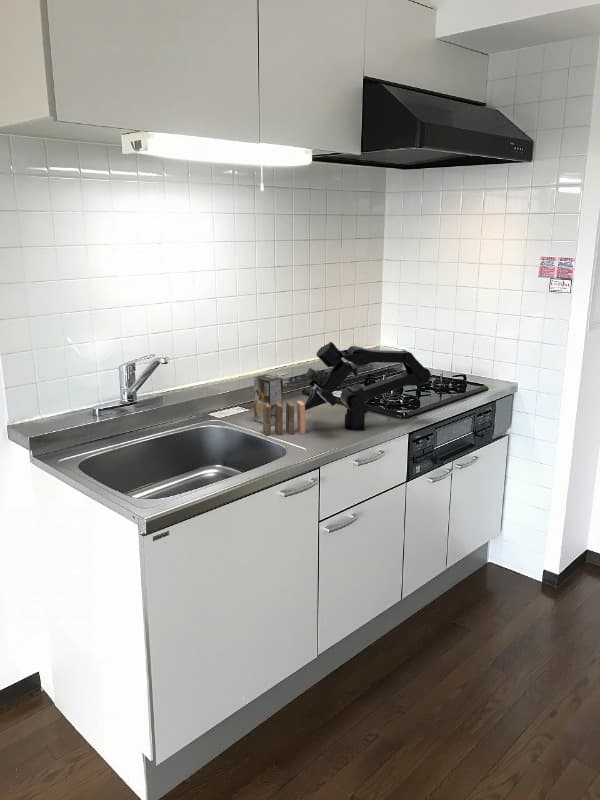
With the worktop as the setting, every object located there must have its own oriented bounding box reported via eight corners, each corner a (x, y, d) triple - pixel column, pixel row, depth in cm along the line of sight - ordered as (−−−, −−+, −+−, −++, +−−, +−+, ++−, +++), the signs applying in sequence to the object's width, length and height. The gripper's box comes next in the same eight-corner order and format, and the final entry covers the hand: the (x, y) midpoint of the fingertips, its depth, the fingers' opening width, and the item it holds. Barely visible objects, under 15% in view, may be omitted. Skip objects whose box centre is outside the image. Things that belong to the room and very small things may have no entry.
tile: (301, 428, 227) (301, 400, 225) (305, 433, 223) (304, 404, 220) (297, 429, 227) (296, 401, 224) (300, 433, 222) (300, 405, 219)
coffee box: (283, 422, 234) (284, 378, 230) (270, 426, 230) (270, 381, 226) (266, 416, 241) (266, 373, 236) (253, 420, 236) (253, 376, 232)
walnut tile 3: (279, 430, 225) (279, 402, 223) (282, 434, 221) (282, 406, 218) (274, 430, 225) (274, 402, 222) (277, 435, 220) (278, 406, 218)
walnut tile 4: (267, 431, 224) (267, 402, 222) (270, 435, 220) (270, 406, 217) (263, 431, 224) (263, 403, 221) (266, 435, 219) (266, 406, 217)
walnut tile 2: (290, 429, 226) (290, 401, 224) (294, 434, 222) (294, 405, 219) (285, 429, 226) (286, 401, 223) (289, 434, 221) (289, 405, 219)
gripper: (313, 354, 228) (281, 386, 229) (328, 365, 211) (294, 400, 211) (334, 376, 232) (303, 407, 233) (351, 388, 215) (317, 423, 215)
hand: (304, 409), depth 223 cm, fingers closed
